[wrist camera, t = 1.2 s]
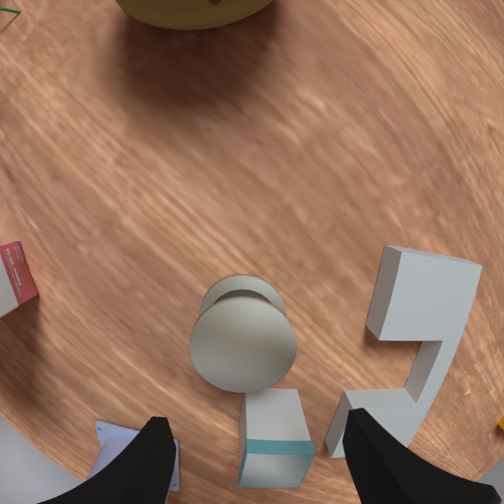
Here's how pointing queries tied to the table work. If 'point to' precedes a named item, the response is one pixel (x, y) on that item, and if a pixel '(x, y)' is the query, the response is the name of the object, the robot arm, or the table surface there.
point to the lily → (10, 10)
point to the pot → (191, 12)
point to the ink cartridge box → (14, 278)
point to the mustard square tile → (501, 424)
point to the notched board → (412, 336)
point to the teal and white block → (273, 440)
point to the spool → (242, 335)
